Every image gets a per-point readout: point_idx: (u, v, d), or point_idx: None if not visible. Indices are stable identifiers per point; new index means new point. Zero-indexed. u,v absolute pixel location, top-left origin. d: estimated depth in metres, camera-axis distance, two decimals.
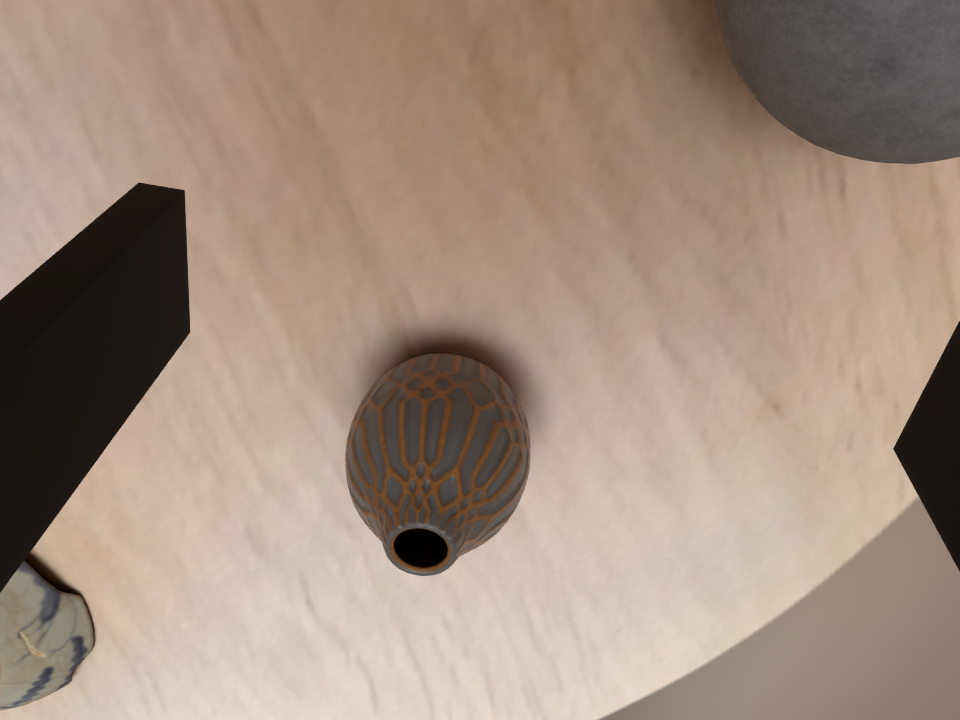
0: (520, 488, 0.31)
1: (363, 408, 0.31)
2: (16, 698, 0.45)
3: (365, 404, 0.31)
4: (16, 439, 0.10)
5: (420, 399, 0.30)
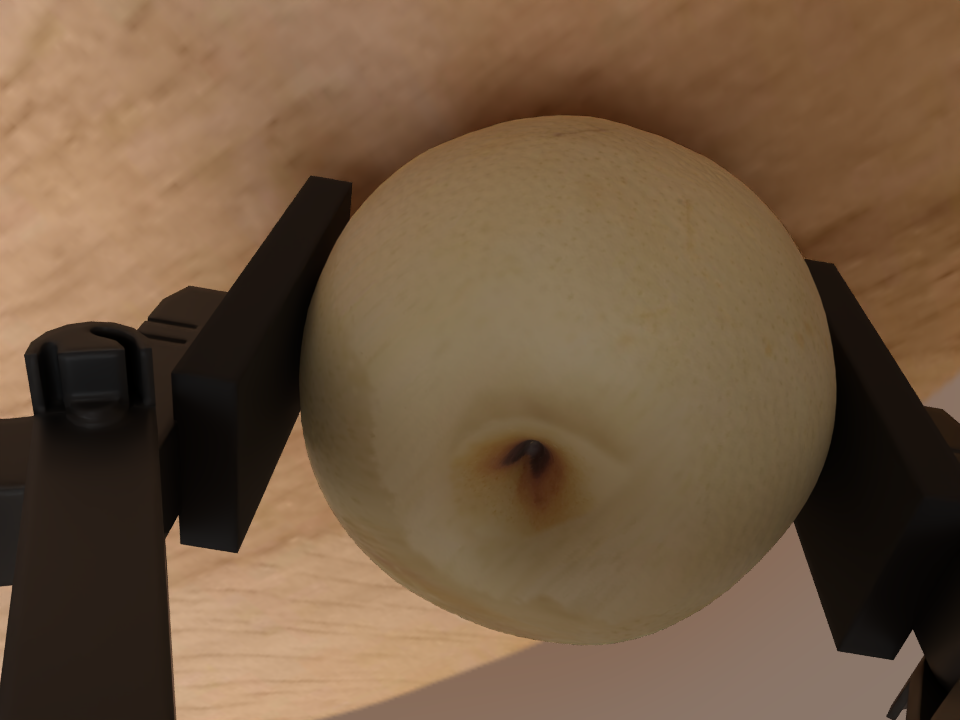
0: None
1: None
2: None
3: None
4: (264, 399, 0.11)
5: None
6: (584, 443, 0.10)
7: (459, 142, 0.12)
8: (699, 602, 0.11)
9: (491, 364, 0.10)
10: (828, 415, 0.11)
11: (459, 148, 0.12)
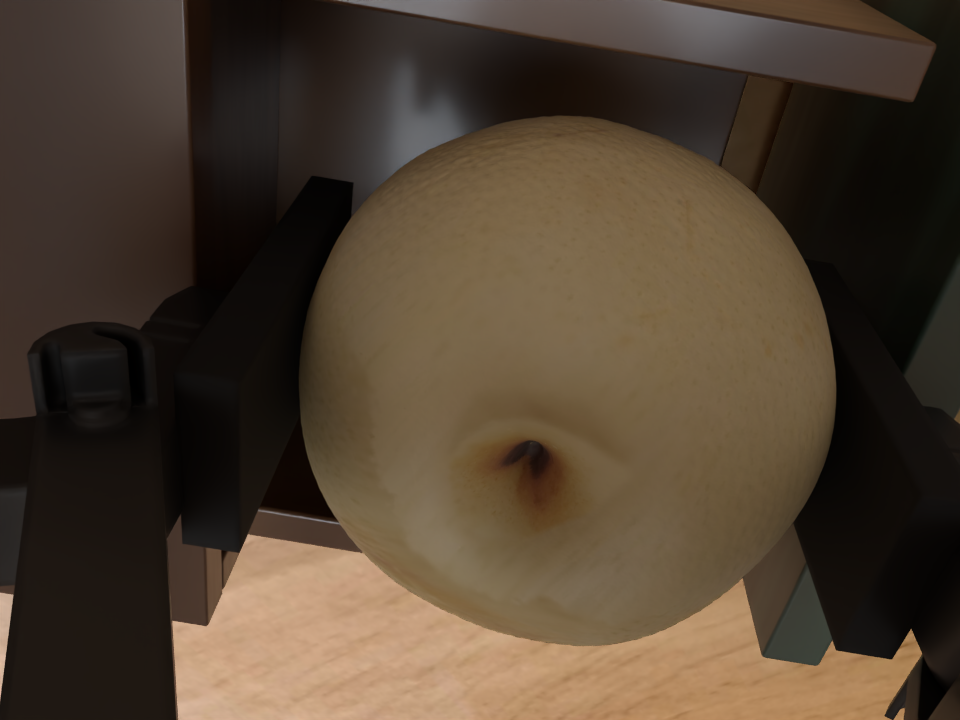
0: None
1: None
2: None
3: None
4: (265, 399, 0.11)
5: None
6: (585, 444, 0.10)
7: (459, 143, 0.12)
8: (699, 603, 0.11)
9: (490, 365, 0.10)
10: (828, 416, 0.11)
11: (458, 149, 0.12)
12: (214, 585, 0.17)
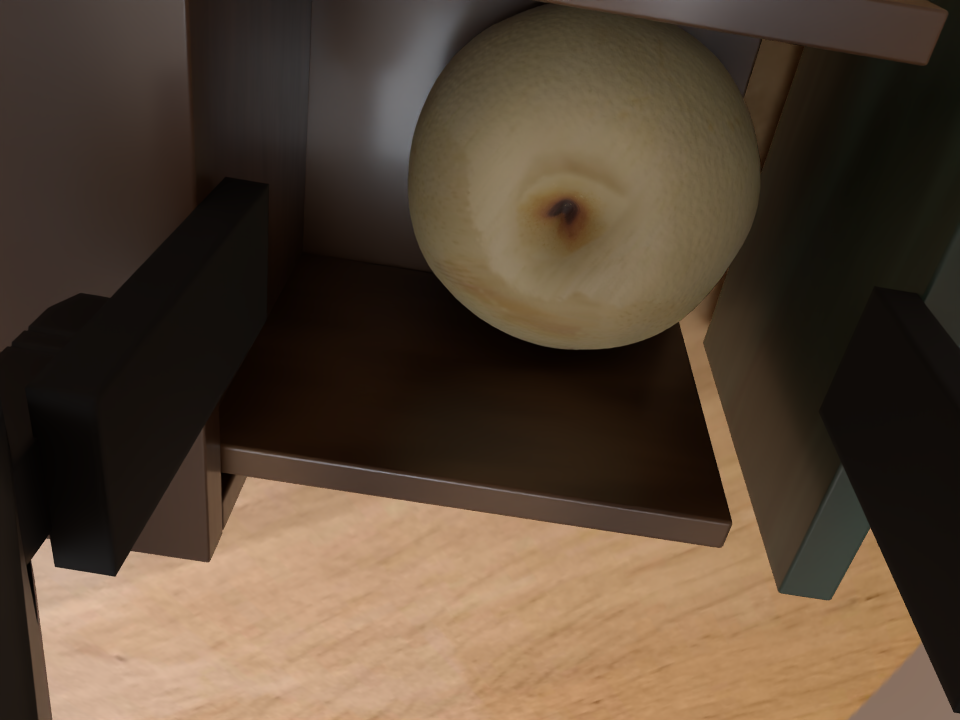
0: None
1: None
2: None
3: None
4: (144, 413, 0.11)
5: None
6: (600, 186, 0.17)
7: (513, 16, 0.18)
8: (673, 296, 0.18)
9: (543, 136, 0.16)
10: (752, 179, 0.18)
11: (514, 18, 0.18)
12: (215, 524, 0.18)
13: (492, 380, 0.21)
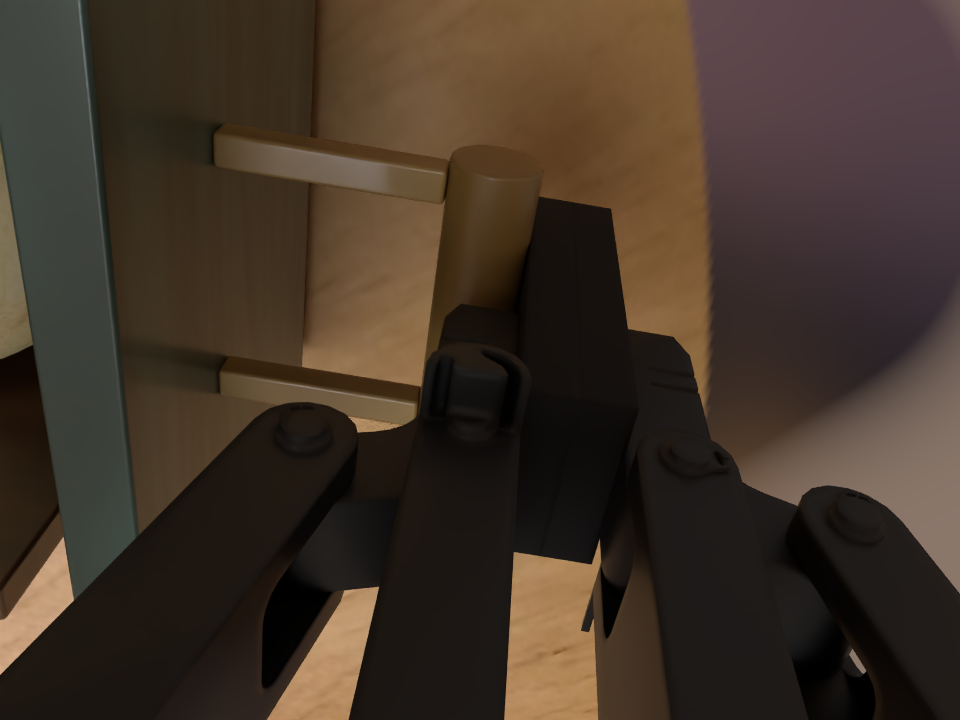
0: None
1: None
2: None
3: None
4: None
5: None
6: None
7: None
8: None
9: None
10: None
11: None
12: None
13: None
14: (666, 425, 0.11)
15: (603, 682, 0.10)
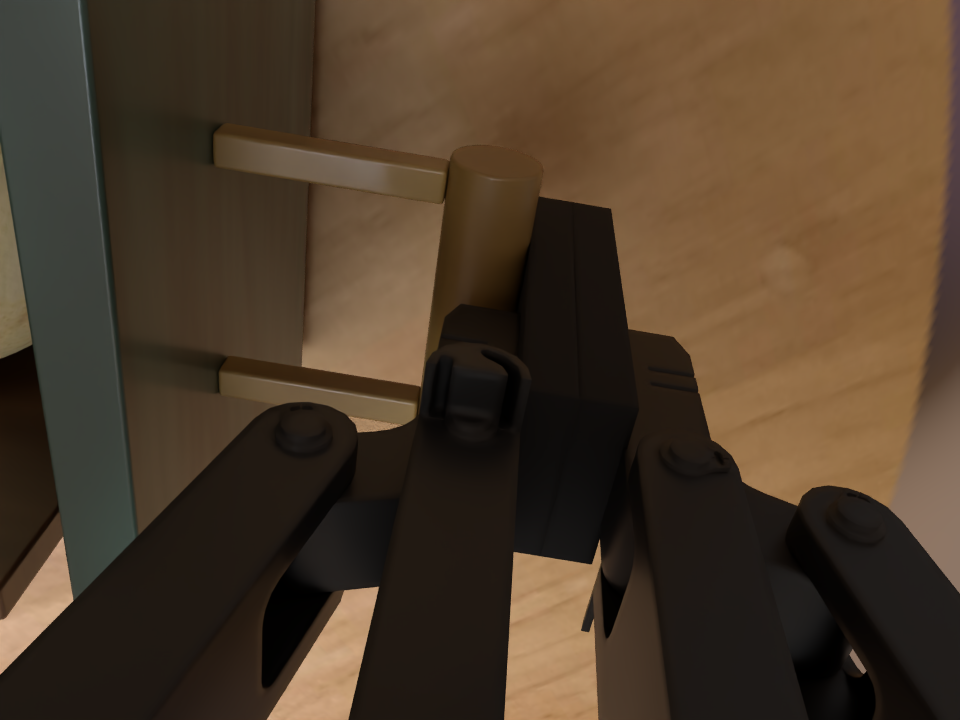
0: None
1: None
2: None
3: None
4: None
5: None
6: None
7: None
8: None
9: None
10: None
11: None
12: None
13: None
14: (666, 425, 0.11)
15: (603, 682, 0.10)
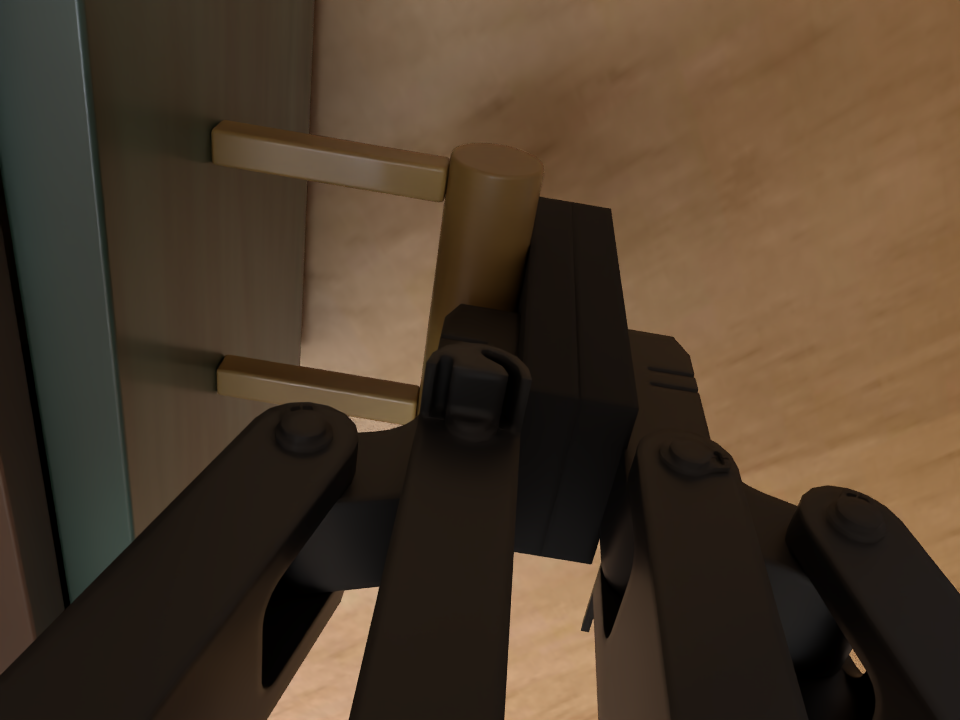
0: None
1: None
2: None
3: None
4: None
5: None
6: None
7: None
8: None
9: None
10: None
11: None
12: None
13: None
14: (666, 425, 0.11)
15: (603, 682, 0.10)
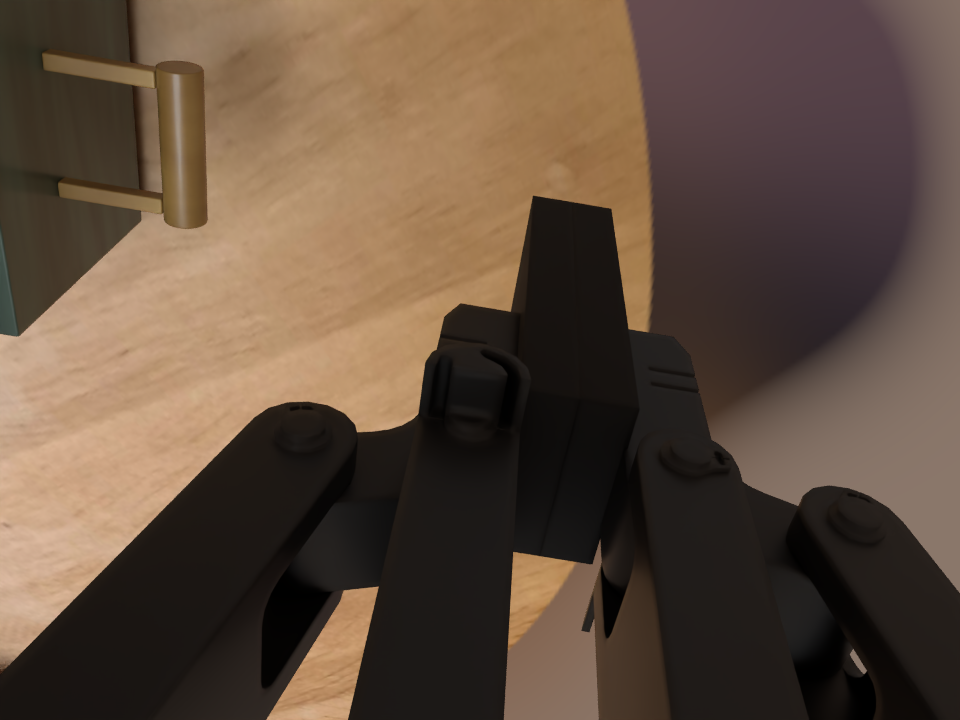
0: None
1: None
2: None
3: None
4: None
5: None
6: None
7: None
8: None
9: None
10: None
11: None
12: None
13: None
14: (667, 425, 0.11)
15: (604, 682, 0.10)
